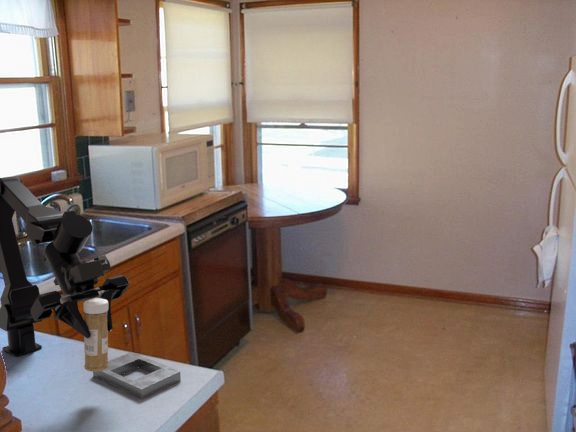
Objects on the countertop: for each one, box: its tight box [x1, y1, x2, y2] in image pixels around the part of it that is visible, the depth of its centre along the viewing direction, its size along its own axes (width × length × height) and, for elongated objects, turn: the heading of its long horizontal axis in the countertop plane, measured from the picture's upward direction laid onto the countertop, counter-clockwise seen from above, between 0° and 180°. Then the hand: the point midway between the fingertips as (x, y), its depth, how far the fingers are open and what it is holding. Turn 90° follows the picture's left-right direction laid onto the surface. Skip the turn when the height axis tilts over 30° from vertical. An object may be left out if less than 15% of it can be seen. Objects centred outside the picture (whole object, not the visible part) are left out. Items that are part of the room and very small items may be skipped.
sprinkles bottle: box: [82, 298, 109, 373], centre depth 117 cm, size 5×5×14 cm
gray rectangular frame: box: [92, 351, 182, 400], centre depth 126 cm, size 16×10×2 cm, turn 52°
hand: (100, 333), depth 116 cm, fingers closed on sprinkles bottle, 4 cm apart
